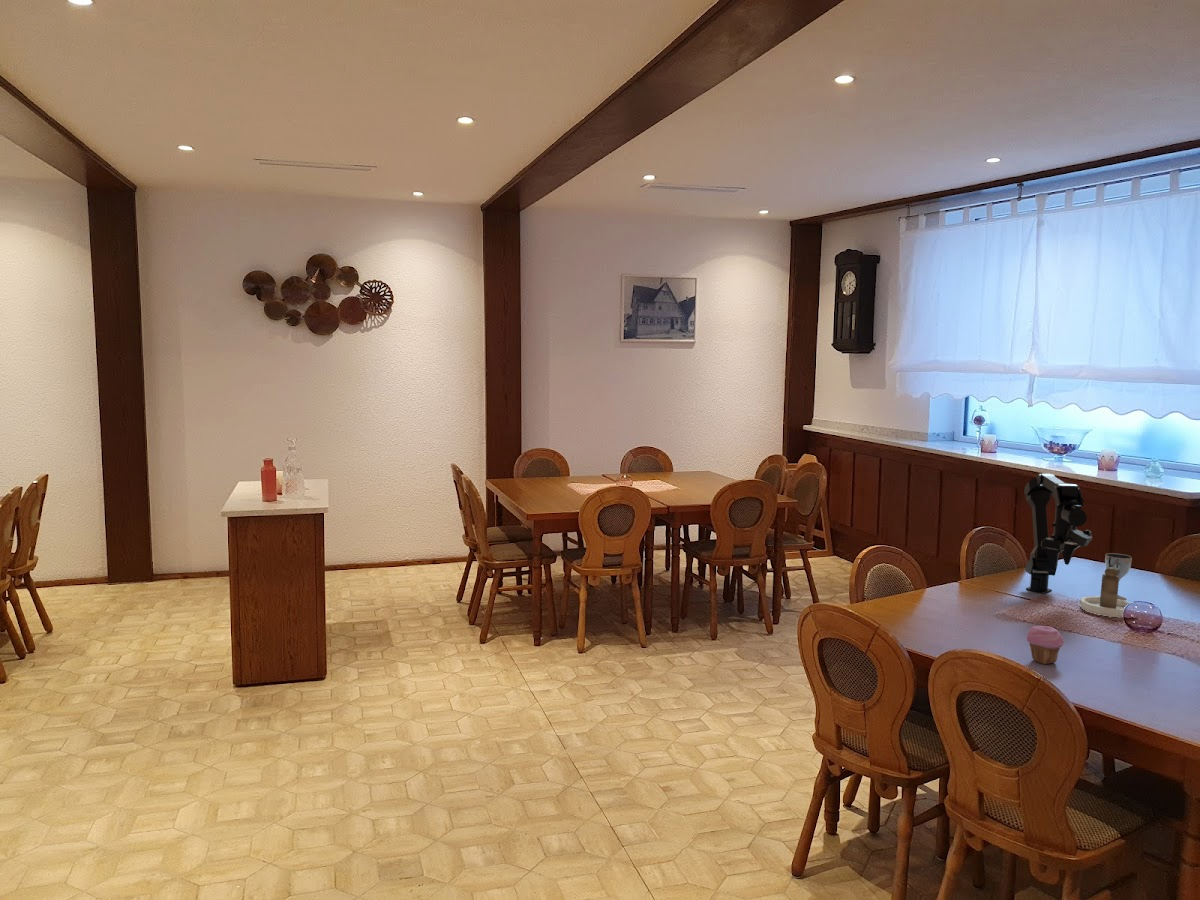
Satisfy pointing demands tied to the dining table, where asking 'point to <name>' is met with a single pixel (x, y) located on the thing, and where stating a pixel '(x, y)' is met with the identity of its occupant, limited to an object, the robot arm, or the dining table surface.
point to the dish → (1094, 606)
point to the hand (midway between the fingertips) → (1060, 566)
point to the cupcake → (1044, 643)
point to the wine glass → (1118, 565)
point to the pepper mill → (1109, 588)
